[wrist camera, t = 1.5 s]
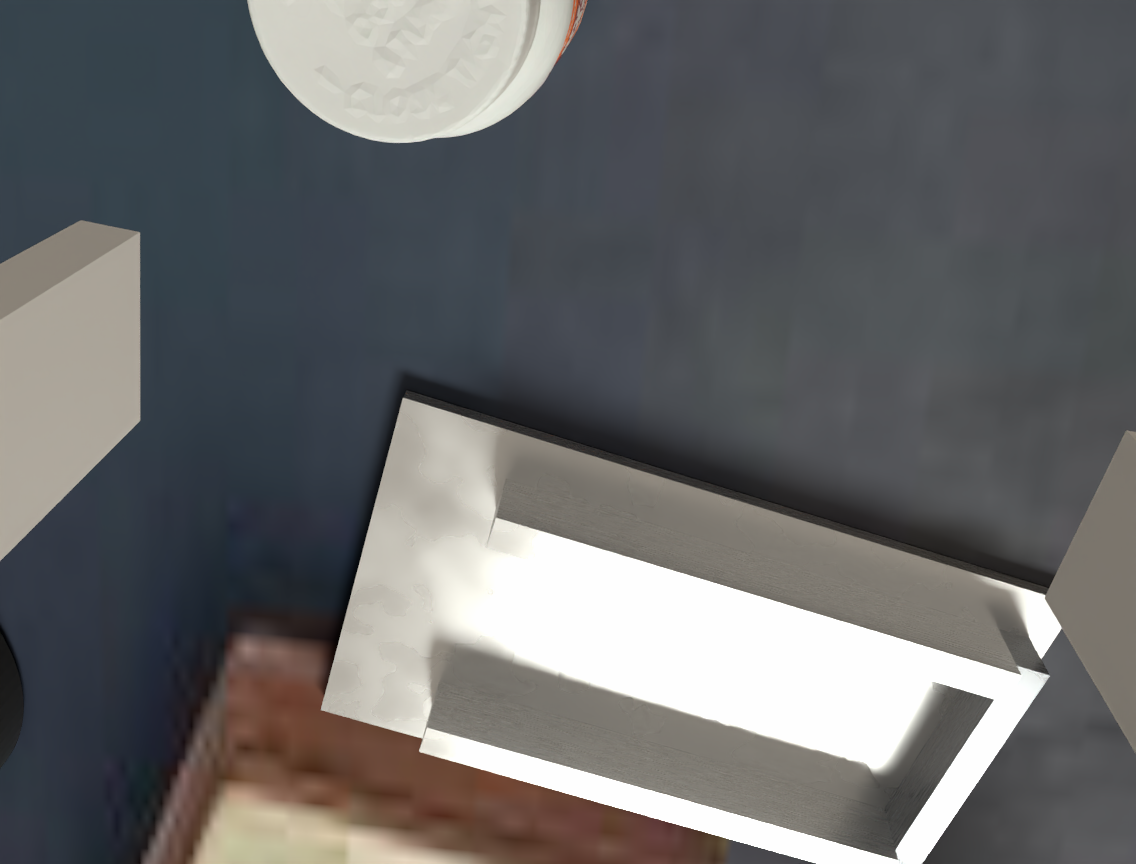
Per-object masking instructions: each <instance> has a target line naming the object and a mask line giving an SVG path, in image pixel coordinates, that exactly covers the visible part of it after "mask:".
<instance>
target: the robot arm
mask: <svg viewBox="0 0 1136 864" xmlns="http://www.w3.org/2000/svg"><path fill="white" fill-rule="evenodd" d="M139 421H140V232H136V231H131V230H126V229H121V228H116V227H111V226H106V225H101V224H96V223H91V222H86V221H79V222H77V223H75V224H73V225H71V226H69V227H68V228H66V229H64V230H62V231H60V232H58V233H57V234H55V235H53V236H51V237H49V238H47V239H45V240H44V241H42V242H40V243H38V244H36V245H34V246H32V247H31V248H29V249H27V250H25V251H23V252H21V253H20V254H18V255H16V256H14V257H12V258H10V259H8V260H7V261H5V262H3V263H1V264H0V561H1V560H2V559H3V558H4V557H5V556H6V555H7V554H8V553H9V552H10V551H11V550H12V549H13V548H14V547H15V546H16V545H17V544H18V543H19V542H20V541H21V540H22V539H23V538H24V537H25V536H26V535H27V534H28V533H29V532H30V531H31V530H32V529H33V528H34V527H35V526H36V525H37V524H38V523H39V522H40V521H41V520H42V519H43V518H44V517H45V516H46V515H47V513H48V512H49V511H50V510H51V509H52V508H53V507H54V506H55V505H56V504H57V503H58V502H59V501H60V500H61V499H62V498H63V497H64V496H65V495H66V494H67V493H68V492H69V491H70V490H71V489H72V488H73V487H74V486H75V485H76V484H77V483H78V482H79V481H80V480H81V479H82V478H83V477H84V476H85V475H86V474H87V473H88V472H89V471H90V470H91V469H92V468H93V467H94V466H95V465H96V464H97V463H98V462H99V461H100V460H101V459H102V458H103V457H104V456H105V455H106V454H107V453H108V452H109V451H110V450H111V449H112V448H113V447H114V446H115V445H116V444H117V443H118V442H119V441H120V440H121V439H122V438H123V437H124V436H125V435H126V434H127V433H128V432H129V431H130V430H131V429H132V428H133V427H134V426H135V425H136V424H137V423H138V422H139ZM1045 600H1046V602H1047V604H1048V605H1049V607H1050V609H1051V610H1052V612H1053V614H1054V615H1055V617H1056V619H1057V621H1058V622H1059V624H1060V626H1061V627H1062V629H1063V631H1064V632H1065V634H1066V636H1067V638H1068V639H1069V641H1070V643H1071V644H1072V646H1073V648H1074V649H1075V651H1076V653H1077V655H1078V656H1079V658H1080V660H1081V661H1082V663H1083V665H1084V666H1085V668H1086V670H1087V672H1088V673H1089V675H1090V677H1091V678H1092V680H1093V682H1094V683H1095V685H1096V687H1097V689H1098V690H1099V692H1100V694H1101V695H1102V697H1103V699H1104V700H1105V702H1106V704H1107V706H1108V707H1109V709H1110V711H1111V712H1112V714H1113V716H1114V717H1115V719H1116V721H1117V723H1118V724H1119V726H1120V728H1121V729H1122V731H1123V733H1124V734H1125V736H1126V738H1127V740H1128V741H1129V743H1130V745H1131V746H1132V748H1133V750H1134V751H1135V753H1136V432H1131V431H1126V432H1125V434H1124V436H1123V438H1122V440H1121V442H1120V444H1119V446H1118V448H1117V450H1116V453H1115V455H1114V457H1113V459H1112V461H1111V463H1110V465H1109V467H1108V469H1107V471H1106V473H1105V475H1104V477H1103V479H1102V481H1101V483H1100V485H1099V487H1098V489H1097V491H1096V493H1095V495H1094V497H1093V500H1092V502H1091V504H1090V506H1089V508H1088V510H1087V512H1086V514H1085V516H1084V518H1083V520H1082V522H1081V524H1080V526H1079V528H1078V530H1077V532H1076V534H1075V536H1074V538H1073V540H1072V542H1071V544H1070V547H1069V549H1068V551H1067V553H1066V555H1065V557H1064V559H1063V561H1062V563H1061V565H1060V567H1059V569H1058V571H1057V573H1056V575H1055V577H1054V579H1053V581H1052V583H1051V585H1050V587H1049V589H1048V591H1047V594H1046V596H1045ZM23 707H24V704H23V692H22V686H21V681H20V677H19V673H18V670H17V667H16V664H15V661H14V659H13V656H12V654H11V652H10V649H9V647H8V645H7V644H6V642H5V640H4V638H3V636H2V634H1V633H0V768H1V767H2V766H3V764H4V763H5V762H6V760H7V759H8V757H9V756H10V754H11V753H12V751H13V749H14V747H15V745H16V743H17V740H18V737H19V735H20V731H21V727H22V720H23Z"/></svg>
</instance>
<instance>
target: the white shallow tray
mask: <svg viewBox="0 0 1136 864" xmlns="http://www.w3.org/2000/svg"><path fill="white" fill-rule="evenodd" d="M1048 589H1049V588H1047V587H1044V586H1041V585H1037V584H1034V583H1031V582H1028V581H1024V580H1021V579H1018V578H1015V577H1011V576H1008V575H1005V574H1002V573H999V572H995V571H992V570H989V569H986V568H982V567H979V566H976V565H973V564H969V563H966V562H963V561H960V560H956V559H953V558H950V557H947V556H943V555H940V554H937V553H934V552H930V551H927V550H924V549H921V548H917V547H914V546H911V545H908V544H904V543H901V542H898V541H895V540H891V539H888V538H885V537H882V536H878V535H875V534H872V533H869V532H866V531H862V530H859V529H856V528H853V527H849V526H846V525H843V524H840V523H836V522H833V521H830V520H827V519H823V518H820V517H817V516H814V515H810V514H807V513H804V512H801V511H797V510H794V509H791V508H788V507H784V506H781V505H778V504H775V503H771V502H768V501H765V500H762V499H758V498H755V497H752V496H749V495H745V494H742V493H739V492H736V491H732V490H729V489H726V488H723V487H720V486H716V485H713V484H710V483H707V482H703V481H700V480H697V479H694V478H690V477H687V476H684V475H681V474H677V473H674V472H671V471H668V470H664V469H661V468H658V467H655V466H651V465H648V464H645V463H642V462H638V461H635V460H632V459H629V458H625V457H622V456H619V455H616V454H612V453H609V452H606V451H603V450H599V449H596V448H593V447H590V446H586V445H583V444H580V443H577V442H574V441H570V440H567V439H564V438H561V437H557V436H554V435H551V434H548V433H544V432H541V431H538V430H535V429H531V428H528V427H525V426H522V425H518V424H515V423H512V422H509V421H505V420H502V419H499V418H496V417H492V416H489V415H486V414H483V413H479V412H476V411H473V410H470V409H466V408H463V407H460V406H457V405H453V404H450V403H447V402H444V401H440V400H437V399H434V398H431V397H428V396H424V395H421V394H418V393H415V392H411V391H408V390H406V392H405V394H404V396H403V399H402V403H401V407H400V411H399V414H398V418H397V422H396V426H395V430H394V433H393V437H392V441H391V445H390V449H389V452H388V456H387V460H386V464H385V468H384V471H383V475H382V479H381V483H380V487H379V490H378V494H377V498H376V502H375V506H374V509H373V513H372V517H371V521H370V525H369V528H368V532H367V536H366V540H365V544H364V547H363V551H362V555H361V559H360V563H359V566H358V570H357V574H356V578H355V582H354V585H353V589H352V593H351V597H350V601H349V604H348V608H347V612H346V616H345V620H344V623H343V627H342V631H341V635H340V639H339V642H338V646H337V650H336V654H335V658H334V661H333V665H332V669H331V673H330V677H329V680H328V684H327V688H326V692H325V696H324V699H323V703H322V707H321V710H323V711H326V712H330V713H334V714H337V715H341V716H344V717H348V718H351V719H355V720H358V721H362V722H366V723H369V724H373V725H376V726H380V727H383V728H387V729H390V730H394V731H398V732H401V733H405V734H408V735H412V736H415V737H419V738H422V743H421V746H420V750H419V752H422V753H426V754H429V755H433V756H436V757H440V758H443V759H447V760H450V761H454V762H458V763H461V764H465V765H468V766H472V767H475V768H479V769H483V770H486V771H490V772H493V773H497V774H500V775H504V776H508V777H511V778H515V779H518V780H522V781H525V782H529V783H533V784H536V785H540V786H543V787H547V788H550V789H554V790H557V791H561V792H565V793H568V794H572V795H575V796H579V797H582V798H586V799H590V800H593V801H597V802H600V803H604V804H607V805H611V806H615V807H618V808H622V809H625V810H629V811H632V812H636V813H640V814H643V815H647V816H650V817H654V818H657V819H661V820H664V821H668V822H672V823H675V824H679V825H682V826H686V827H689V828H693V829H697V830H700V831H704V832H707V833H711V834H714V835H718V836H722V837H725V838H729V839H732V840H736V841H739V842H743V843H747V844H750V845H754V846H757V847H761V848H764V849H768V850H771V851H775V852H779V853H782V854H786V855H789V856H793V857H796V858H800V859H804V860H807V861H811V862H814V863H818V864H922V863H923V861H924V860H925V858H926V857H927V855H928V854H929V852H930V851H931V849H932V848H933V846H934V845H935V844H936V842H937V841H938V839H939V838H940V836H941V835H942V833H943V832H944V830H945V829H946V827H947V826H948V824H949V823H950V821H951V820H952V819H953V817H954V816H955V814H956V813H957V811H958V810H959V808H960V807H961V805H962V804H963V802H964V801H965V799H966V798H967V797H968V795H969V794H970V792H971V791H972V789H973V788H974V786H975V785H976V783H977V782H978V780H979V779H980V777H981V776H982V774H983V773H984V772H985V770H986V769H987V767H988V766H989V764H990V763H991V761H992V760H993V758H994V757H995V755H996V754H997V752H998V751H999V749H1000V748H1001V747H1002V745H1003V744H1004V742H1005V741H1006V739H1007V738H1008V736H1009V735H1010V733H1011V732H1012V730H1013V729H1014V727H1015V726H1016V725H1017V723H1018V722H1019V720H1020V719H1021V717H1022V716H1023V714H1024V713H1025V711H1026V710H1027V708H1028V707H1029V705H1030V704H1031V702H1032V701H1033V700H1034V698H1035V697H1036V695H1037V694H1038V692H1039V691H1040V689H1041V688H1042V686H1043V685H1044V683H1045V682H1046V680H1047V679H1048V677H1049V676H1050V675H1049V673H1048V671H1047V669H1046V668H1045V666H1044V664H1043V662H1042V660H1041V658H1042V657H1043V655H1044V654H1045V652H1046V651H1047V649H1048V648H1049V646H1050V645H1051V643H1052V642H1053V640H1054V639H1055V637H1056V636H1057V634H1058V633H1059V631H1060V630H1061V628H1062V627H1061V626H1060V624H1059V622H1058V621H1057V619H1056V617H1055V615H1054V614H1053V612H1052V610H1051V609H1050V607H1049V605H1048V604H1047V602H1046V600H1045V596H1046V594H1047V591H1048Z"/></svg>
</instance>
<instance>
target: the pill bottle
mask: <svg viewBox="0 0 1136 864" xmlns="http://www.w3.org/2000/svg"><path fill="white" fill-rule="evenodd" d="M247 1H248V7H249V12H250V16H251V20H252V23H253V26H254V30H255V33H256V35H257V37H258V40H259V42H260V45H261V48H262V50H263V52H264V54H265V56H266V58H267V59H268V61H269V63H270V64H271V66H272V68H273V69H274V71H275V72H276V74H277V75H278V77H279V78H280V80H281V81H282V82H283V83H284V85H285V86H286V87H287V88H288V89H289V90H290V91H291V93H292V94H293V95H294V96H295V97H296V98H297V99H298V100H299V101H300V102H301V103H302V104H303V105H305V106H306V107H307V108H308V109H309V110H311V111H312V112H313V113H314V114H316V115H317V116H318V117H320V118H321V119H323V120H324V121H326V122H328V123H330V124H331V125H333V126H335V127H337V128H339V129H342V130H344V131H346V132H348V133H351V134H353V135H356V136H360V137H363V138H367V139H370V140H375V141H381V142H390V143H410V142H419V141H424V140H428V139H432V138H444V137H454V136H461V135H465V134H469V133H472V132H475V131H479V130H481V129H484V128H486V127H488V126H491V125H493V124H495V123H497V122H498V121H500V120H502V119H503V118H505V117H507V116H508V115H510V114H511V113H513V112H514V111H515V110H516V109H518V108H519V107H520V106H521V105H522V104H523V103H525V102H526V101H527V100H528V99H529V98H530V97H532V96H533V95H534V94H535V92H536V91H537V90H538V89H539V88H540V87H541V86H542V84H543V83H544V82H545V80H546V79H547V77H548V76H549V74H550V72H551V70H552V68H553V67H554V66H555V64H556V63H557V62H558V60H559V59H560V58H561V56H562V54H563V52H564V51H565V49H566V48H567V46H568V45H569V43H570V41H571V40H572V38H573V36H574V34H575V33H576V31H577V29H578V27H579V24H580V22H581V19H582V16H583V13H584V10H585V7H586V4H587V0H247Z"/></svg>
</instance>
